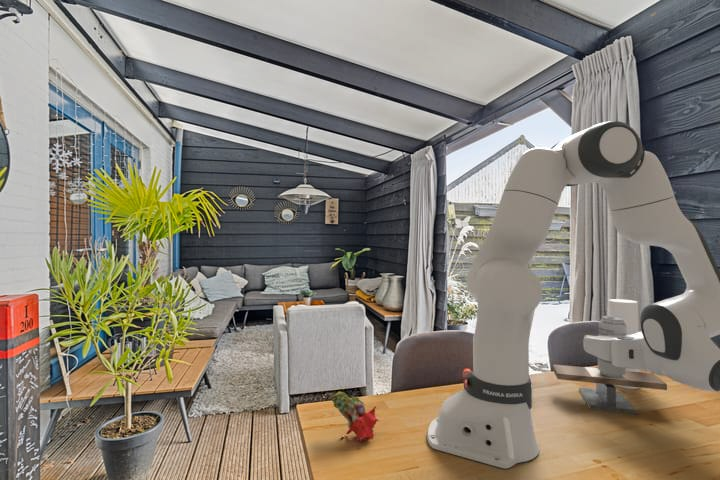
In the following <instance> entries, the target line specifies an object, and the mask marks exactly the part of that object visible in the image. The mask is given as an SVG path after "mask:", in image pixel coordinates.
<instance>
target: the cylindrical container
mask: <svg viewBox="0 0 720 480" xmlns="http://www.w3.org/2000/svg"><path fill="white" fill-rule="evenodd" d="M608 316H615V317H620V318H623V319H624V322H625V324H626V326H627V330H626V335H631V334H636V333H638V332H639V302H638V300H637V301H636V300H631V299H621V298H612V299H608ZM625 371H632V372H640V370H639V369H632V368H625ZM614 386H615V387H619V388H621V389H622V388H623V389H629V390H635V389H637V390H638V389H640V387H630V386H621V385H614Z"/></svg>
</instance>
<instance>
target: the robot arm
mask: <svg viewBox="0 0 720 480" xmlns="http://www.w3.org/2000/svg"><path fill="white" fill-rule="evenodd" d="M593 183H596V184H598V185H599V186H600V188H602V189H603V192H604V193H605V195H606V199H607V205H608V209H609V212H610V215H611V219H612V222H613V225H614V228H615V230H617V233H618V234H619V235H620V237H623V238H624V239H626V240H628V241H630V242H632V243H635V244H637V245H643V246H653V247H659V248H663V249H665V250H667V251H668V252H669V253H671V254H672V257H673V259H674V260H675V262H676V265H677V266H678V269H679V271H680V274H681V275H682V278H683V279H684V282H685V284H686V288H685V290H684V292H683V293H682V294H679V295H676V296H672V297H669V298H665V299H663V300H660V301H656V302H654V303H652V304H648V305H646V306H645V307H644V308H643V309H642V311H641V313H640V319H639V322H640V330H641V331H638V333H636V334H631V335H608V336H598V335H593V334H584V335H583V336H584V337H583V341H582V343H583V350H584V351H585V352H586V353H587V354H590V355H591V356H593V357H596V358H597V359H598V358H601V359H603V360H607V361H612V365H614V366H617V367H623V368H632V369H639V371H642V372H648V373H653V374H655V375H656V376H662V377H667V378H669V379H670V380H671V381H674V382H676V383H679V384H682V385H685V386H687V387H690V388H694V389H698V390H701V391H706V392H712V393H713V392H716V393H717V392H720V347H718V345H716V343H715V342H713V340H712V339H711V338H713V337H714V338H715V337H719V336H720V270H719V268H718V265H717V262H716V261H715V259H714V257H713V254H712V252H711V249H710V248H709V245H708V243H707V241H706V239H705V238H704V236H703V234H702V232H701V231H700V229H699V227H698V226H697V224H695V222H694V221H692V220H690V219H689V218H687V217H686V216H685V215H684V214H683V212H682V210H681V208H680V207H679V205H678V202H677V199H676V196H675V193H674V189H673V187H672V184H671V182H670V179H669V177H668V175H667V173H666V170H665V168H664V167H663V165H662V163H661V161H660V160H659V158H658V156H656V154H654V153H653V152H651V151H647V150H645V146H644V145H643V143H642V140H641V138H640V136H639V134H638V133H637V132H636V130H635V129H634V128H633V127H631V126H630V125H629V124H627V123H626V122H623V121H618V120H617V121H616V120H612V121H604V122H599V123H597V124H594V125H592V126H590V127H589V128H585V129H583V130H581V131H577V132H575V133H573V134H571V135H569V136H568V137H566V138H565V139H563V140H562V141H559V142H558V143H556V144H555V145H553V146H552V147H542V146H539V147H532V148H530V149H528V150H526V151H524V152H523V153H522V154H521V155H520V157H519V158H518V161H517V162H516V164H515V166H514V167H513V169H512V172H511V173H510V175H509V177H508V180H507V181H506V184H505V187H504V190H503V192H502V196H501V198H500V200H499V204H498V205H497V209H496V211H495V215H494V218H493V220H492V223H491V225H490V228H489V230H488V233H487V234H486V236H485V237H484V240H483V242H482V244H481V246H480V248H479V250H478V252H477V254H476V256H475V258H474V260H473V262H472V265H471V267H470V269H469V270H468V273H467V277H466V284H467V290H468V292H469V294H470V296H471V297H472V298H473V299H474V300H475V301H477V317H476V323H475V331H474V334H473V335H472V358H473V360H472V364H473V365H472V366H473V367H472V368H473V370H471V369H470V368H464V370H463V371H462V377H463V389H461V390H460V391H458V392H457V393H455V394H454V393H453V395H451V396H450V397H448V398H446V399H445V400H444V401H443V402H442V405H441V407H440V409H439V412H438V416H437V417H435V418H434V419H433V420H432V421H431V422H430V423H429V426H428V429H427V436H426V437H427V438H426V439H427V442H428V445H429V446H430V447H431V448H432V449H434V450H437V451H441V452H444V453H448V454H451V455H455V456H458V457H462V458H466V459H468V460H472V461H476V462H478V463H479V462H480V463H483V464H486V465H490V466H494V467H497V468H501V469H509V468H511V467H514V466H515V465H516V464H519V463H523V462H524V463H525V462H528V461H530V460H531V461H532V460H533V459H535V458H536V457H538V455H539V453H540V448H539V444H538V441H537V438H536V434H535V430H534V425H533V418H532V405H533V384H532V381H531V380H532V379H531V377H530V363H529V361H530V360H529V358H530V357H529V353H530V350H529V348H530V347H529V345H530V337H531V336H530V335H531V330H532V325H533V321H534V316H535V310H536V308H537V307H538V306H539V304H540V303H541V300H542V297H543V289H542V288H543V287H542V283H541V281H540V278H538V276H537V274H536V273H534V271H532V270H531V269H530V268H529V267H528V266H529V265H530V263H531V261H532V260H533V258H534V256H535V254H536V253H537V252H538V251H539V249H540V248H541V247H542V245H544V244H545V242H546V240H547V237H548V234H549V231H550V228H551V225H552V223H553V220H554V218H555V215H556V211H557V208H558V206H559V203H560V200H561V197H562V194H563V192H564V190H565V188H566V187H575V186H578V185H582V184H583V185H584V184H593ZM529 377H530V378H529Z"/></svg>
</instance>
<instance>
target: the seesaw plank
mask: <svg viewBox="0 0 720 480" xmlns="http://www.w3.org/2000/svg"><path fill="white" fill-rule="evenodd" d="M552 372H553V373H554V374H555V377H556V379H557V380H563V381H571V382H572V381H573V382H582V383H590V384H591V383H592V384H596V383H601V384H611V385H614V386H615V385H621V386H630V387H639V389H640V388H643V389H651V390H661V391H662V390H664V391H668V384H667V383H666V382H665V381H664V380H662V379H661V378H660V377H659V376H658V375H657V374H654V373H651V372H644V371H641V372H640V371H639V372H632V371H625V374H624V375H623V377H622V378H612V377H608V376H605V375H602V374H601V373H600V371H599V370H598V367H588V366H574V365H565V364H564V365H562V364H552Z"/></svg>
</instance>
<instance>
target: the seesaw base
mask: <svg viewBox="0 0 720 480" xmlns="http://www.w3.org/2000/svg"><path fill="white" fill-rule="evenodd" d="M616 387H617V386H615V385H611V384H601V383H595V388H589V387H588V388H587V387H578V388H579V389H578V392H579V393H580V395H581V396H582V397H583V399H584V401H585V403H586V404H587V406H588V407H589V409H590V410H591V409H592V410H599V411H608V412H616V413H624V414H631V415H632V414H633V415H638V411H637V410H638V409H636V408H635V406H634V405H633V404H632V403H631V402H630V401H629V400H628V399H627V397H626V396H625V395H623V393H622V392H621V391H617V388H616Z"/></svg>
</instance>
